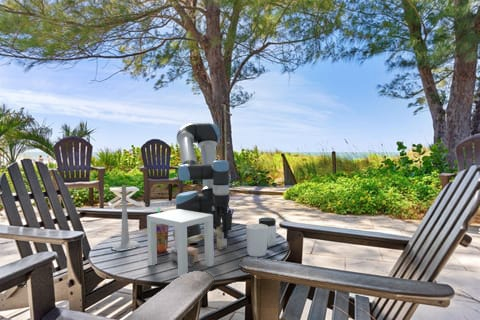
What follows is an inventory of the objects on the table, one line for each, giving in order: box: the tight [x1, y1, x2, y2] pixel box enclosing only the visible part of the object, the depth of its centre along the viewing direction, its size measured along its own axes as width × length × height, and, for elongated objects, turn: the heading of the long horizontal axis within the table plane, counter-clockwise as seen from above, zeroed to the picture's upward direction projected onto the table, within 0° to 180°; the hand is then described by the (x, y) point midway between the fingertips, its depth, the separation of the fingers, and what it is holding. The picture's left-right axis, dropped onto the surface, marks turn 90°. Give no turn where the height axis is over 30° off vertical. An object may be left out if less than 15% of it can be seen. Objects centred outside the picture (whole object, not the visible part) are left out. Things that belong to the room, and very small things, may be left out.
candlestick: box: [111, 184, 140, 249], centre depth 143 cm, size 13×13×30 cm
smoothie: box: [156, 207, 170, 254], centre depth 136 cm, size 8×8×20 cm
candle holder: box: [245, 223, 268, 258], centre depth 131 cm, size 10×10×12 cm
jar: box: [258, 216, 277, 247], centre depth 145 cm, size 9×8×12 cm
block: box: [187, 246, 199, 263], centre depth 123 cm, size 5×5×5 cm
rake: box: [170, 225, 228, 268], centre depth 129 cm, size 26×12×10 cm, turn 140°
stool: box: [146, 208, 215, 277], centre depth 119 cm, size 21×16×20 cm
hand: (221, 244), depth 138 cm, fingers closed on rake, 2 cm apart
